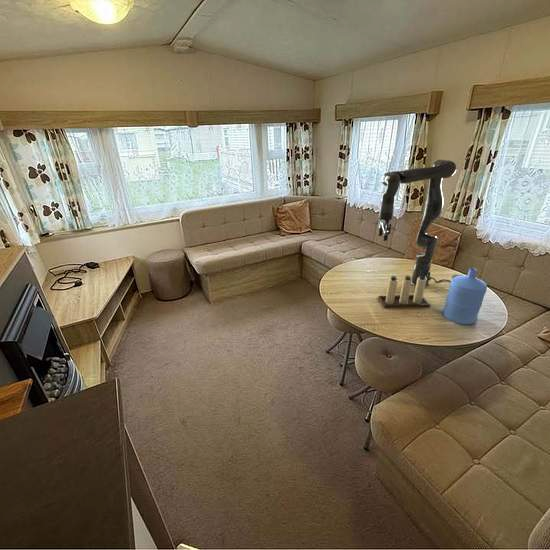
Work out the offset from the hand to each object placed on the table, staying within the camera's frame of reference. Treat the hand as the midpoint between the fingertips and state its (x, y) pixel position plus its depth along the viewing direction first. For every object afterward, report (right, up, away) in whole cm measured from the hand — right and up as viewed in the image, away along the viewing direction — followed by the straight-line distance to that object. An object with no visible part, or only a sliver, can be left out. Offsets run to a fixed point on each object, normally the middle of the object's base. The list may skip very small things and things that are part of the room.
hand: (382, 238), depth 173 cm
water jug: (+36, -44, -14) cm, 59 cm away
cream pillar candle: (+4, -37, 0) cm, 38 cm away
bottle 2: (+20, -37, -1) cm, 42 cm away
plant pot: (+48, -34, +6) cm, 59 cm away
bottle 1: (+12, -37, 0) cm, 39 cm away
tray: (+12, -38, 0) cm, 40 cm away
